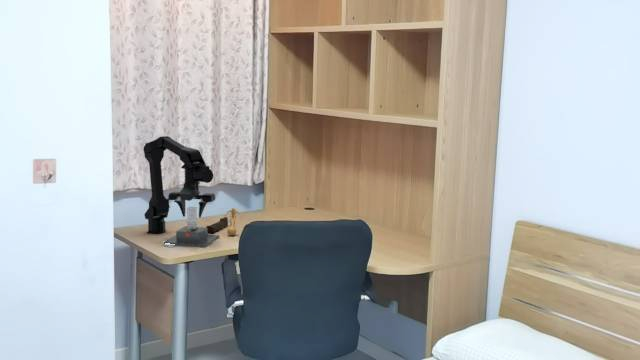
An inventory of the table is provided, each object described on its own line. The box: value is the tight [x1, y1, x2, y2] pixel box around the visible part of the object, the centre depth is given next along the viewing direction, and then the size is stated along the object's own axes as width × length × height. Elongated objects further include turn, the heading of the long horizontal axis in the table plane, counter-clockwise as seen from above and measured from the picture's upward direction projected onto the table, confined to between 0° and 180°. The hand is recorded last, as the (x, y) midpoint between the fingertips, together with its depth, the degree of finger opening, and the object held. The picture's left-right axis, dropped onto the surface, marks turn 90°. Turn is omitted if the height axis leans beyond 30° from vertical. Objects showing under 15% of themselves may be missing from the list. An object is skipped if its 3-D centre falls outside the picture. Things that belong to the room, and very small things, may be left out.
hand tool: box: [205, 216, 229, 235], centre depth 320 cm, size 19×4×5 cm, turn 160°
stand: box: [163, 225, 220, 248], centre depth 297 cm, size 18×18×6 cm
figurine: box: [223, 207, 243, 237], centre depth 309 cm, size 8×6×12 cm
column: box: [186, 206, 198, 230], centre depth 296 cm, size 3×3×9 cm
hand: (192, 217), depth 296 cm, fingers open, 7 cm apart
